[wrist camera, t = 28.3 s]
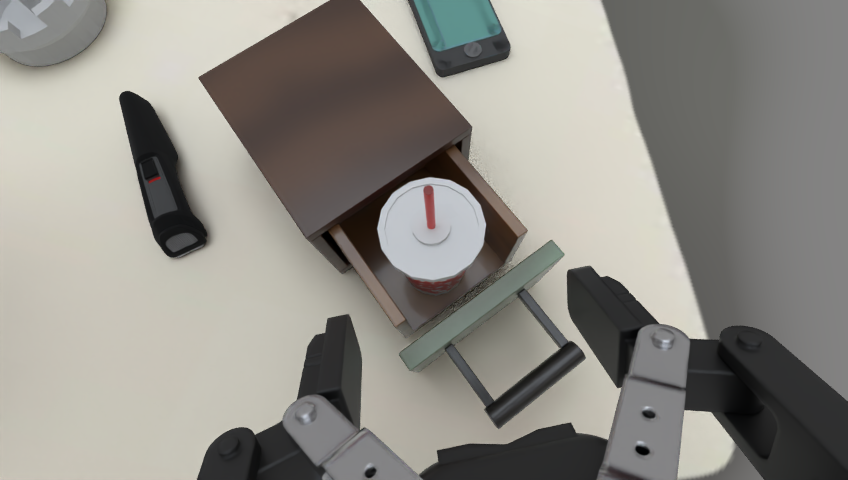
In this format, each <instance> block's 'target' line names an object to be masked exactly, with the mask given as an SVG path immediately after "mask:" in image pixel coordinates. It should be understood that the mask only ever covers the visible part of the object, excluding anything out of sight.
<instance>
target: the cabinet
mask: <svg viewBox="0 0 848 480" xmlns="http://www.w3.org/2000/svg"><path fill="white" fill-rule="evenodd" d="M198 78H199V80H200V81H201V83H202V84H203V86H204V87H205V89H206V90H207V92H208V93H209V95H210V96H211V98H212V99H213V101H214V102H215V104H216V105H217V107H218V108H219V110H220V111H221V113H222V114H223V116H224V117H225V119H226V120H227V122H228V123H229V125H230V126H231V128H232V129H233V130H234V132H235V133H236V135H237V136H238V138H239V139H240V141H241V142H242V144H243V145H244V147H245V148H246V150H247V151H248V153H249V154H250V156H251V157H252V159H253V160H254V162H255V163H256V165H257V166H258V168H259V169H260V171H261V172H262V174H263V175H264V177H265V178H266V180H267V181H268V183H269V184H270V186H271V187H272V188H273V190H274V191H275V193H276V194H277V196H278V197H279V199H280V200H281V202H282V203H283V205H284V206H285V208H286V209H287V211H288V212H289V214H290V215H291V217H292V218H293V220H294V221H295V223H296V224H297V226H298V227H299V229H300V230H301V232H302V233H303V235H304V236H305V238H306V239H307V240H308V241H309V242H310V243H311V244H312V245H313V246H314V247H315V248H316V249H317V250H318V251H319V252H320V253H321V254H322V255H323V256H324V257H325V258H326V259H327V260H328V261H329V262H330V263H331V264H332V265H333V266H334V267H335V268H336V269H337V270H338V271H339V272H340V273H341V274H343V273H344V272H346V271H347V270H349V269H350V268H352V267H353V266H352V265H351V263H350V262H349V260H348V259H347V257H346V256H345V254H344V253H343V252H342V250H341V249H340V247H339V246H338V244H337V243H336V241H335V240H334V239H333V237H332V236H331V234H330V233H329V231H328V229H330V228H331V227H333V226H334V225H336V224H337V223H339V222H340V221H342V220H343V219H345V218H346V217H348V216H349V215H351V214H352V213H354V212H355V211H357V210H358V209H359V208H361V207H362V206H364V205H365V204H367V203H368V202H370V201H371V200H373V199H374V198H376V197H377V196H379V195H380V194H382V193H383V192H385V191H386V190H388V189H389V188H391V187H392V186H394V185H395V184H397V183H398V182H399V181H401V180H402V179H404V178H405V177H407V176H408V175H410V174H411V173H413V172H414V171H416V170H417V169H419V168H420V167H422V166H423V165H425V164H426V163H428V162H429V161H431V160H432V159H434V158H435V157H437V156H438V155H439V154H441V153H442V152H444V151H445V150H447V149H448V148H450V147H451V146H453V145H455V146H456V147H457V149H458V150H459V151H460V152H461V153H462V154H463V156H464V157H465V158H466V159H467V160H468V159H469V150H470V141H471V132H472V126H471V125H470V124H469V123H468V121H467V120H466V119H465V118H464V117H463V116H462V115H461V114H460V112H459V111H458V110H457V109H456V108H455V107H454V106H453V105H452V103H451V102H450V101H449V100H448V99H447V98H446V97H445V96H444V94H443V93H442V92H441V91H440V90H439V89H438V88H437V87H436V85H435V84H434V83H433V82H432V81H431V80H430V79H429V78H428V76H427V75H426V74H425V73H424V72H423V71H422V70H421V69H420V67H419V66H418V65H417V64H416V63H415V62H414V61H413V60H412V58H411V57H410V56H409V55H408V54H407V53H406V52H405V51H404V49H403V48H402V47H401V46H400V45H399V44H398V43H397V42H396V40H395V39H394V38H393V37H392V36H391V35H390V34H389V33H388V31H387V30H386V29H385V28H384V27H383V26H382V25H381V24H380V22H379V21H378V20H377V19H376V18H375V17H374V16H373V15H372V13H371V12H370V11H369V10H368V9H367V8H366V7H365V6H364V4H363V3H362V2H361V1H360V0H330V1H328V2H326V3H324V4H323V5H321V6H319V7H318V8H316V9H314V10H312V11H311V12H309V13H307V14H306V15H304V16H302V17H300V18H299V19H297V20H295V21H294V22H292V23H290V24H289V25H287V26H285V27H283V28H282V29H280V30H278V31H277V32H275V33H273V34H271V35H270V36H268V37H266V38H265V39H263V40H261V41H259V42H258V43H256V44H254V45H253V46H251V47H249V48H248V49H246V50H244V51H242V52H241V53H239V54H237V55H236V56H234V57H232V58H230V59H229V60H227V61H225V62H224V63H222V64H220V65H218V66H217V67H215V68H213V69H212V70H210V71H208V72H207V73H205V74H203V75H201V76H200V77H198Z"/></svg>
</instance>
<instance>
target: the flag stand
mask: <svg viewBox="0 0 848 480" xmlns="http://www.w3.org/2000/svg"><path fill="white" fill-rule="evenodd" d="M106 13H107V12H106V3H105V0H0V53H4V54H6V55H7V56H8V57H10V58H11V59H13V60H15V61H16V62H18V63H21V64H24V65H28V66H48V65H52V64H56V63H60V62H62V61H65V60H67V59H70V58H71V57H73V56H75V55H77V54H78V53H80V52H81V51H83V50H84V49H85V48H86V47H88V46H89V45H90V44H91V43H92V42H93V40H94V39H95V38H96V37H97V35H98V34H99V32H100V31H101V29H102V27H103V25H104V22H105V19H106Z"/></svg>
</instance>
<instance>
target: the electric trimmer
mask: <svg viewBox="0 0 848 480" xmlns="http://www.w3.org/2000/svg"><path fill="white" fill-rule="evenodd" d="M119 100H120V105H121V109H122V113H123V117H124V122H125V126H126V130H127V134H128V138H129V143H130V147H131V151H132V155H133V159H134V164H135V167H136V170H137V176H138V180H139V184H140V188H141V192H142V196H143V200H144V204H145V208H146V212H147V216H148V220H149V223H150V226H151V228H152V232H153V235H154V238H155V240H156V242H157V243H158V244H159V245H160V247H161V248H162V250H163V251H164V252H165V254H166V255H167V256H169V257H173V258H174V257H177V258H178V257H180V256H183V255H186V254H187V253H190V252H191V251H194V250H196V249H197V248H201V247H202V246H204V244H205V243H206V239H205V237H206V236H207V232H206V230H205V228H204V226H203V224H202V223H201V222H200V221H199V220H198V219H197V218H196V217H195V216H194V215H193V213H192V212H191V210H190V207H189V205H188V203H187V201H186V198H185V195H184V193H183V190H182V188H181V185H180V182H179V179H178V176H177V172H176V168H175V165H176V162H177V160H178V155H177V152H176V150H175V148H174V146H173V144H172V142H171V140H170V139H169V137H168V135H167V133H166V131H165V129H164V127H163V125H162V123H161V122H160V120H159V118H158V116H157V114H156V112H155V110H154V109H153V107H152V106H151V104H150V103H149V102H148V101H147V100H145V99H144V98H142V97H140V96H139V95H137V94H135V93H133V92H130V91H125V92H122V93H121V95H120V97H119Z"/></svg>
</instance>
